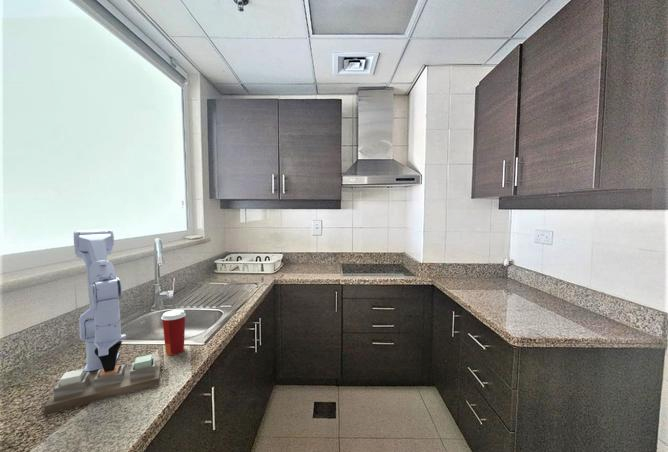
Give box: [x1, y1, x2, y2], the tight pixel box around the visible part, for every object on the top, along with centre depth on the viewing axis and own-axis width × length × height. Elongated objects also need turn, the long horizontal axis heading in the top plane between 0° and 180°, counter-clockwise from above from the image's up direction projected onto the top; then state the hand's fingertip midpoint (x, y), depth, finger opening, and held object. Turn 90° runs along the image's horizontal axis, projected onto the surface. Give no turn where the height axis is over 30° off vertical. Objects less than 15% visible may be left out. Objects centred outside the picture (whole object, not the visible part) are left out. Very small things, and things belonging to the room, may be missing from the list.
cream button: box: [59, 368, 85, 386], centre depth 78 cm, size 4×4×2 cm
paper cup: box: [160, 309, 187, 356], centre depth 102 cm, size 8×8×14 cm
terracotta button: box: [99, 364, 121, 378], centre depth 82 cm, size 4×4×2 cm
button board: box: [43, 357, 162, 415], centre depth 82 cm, size 12×24×4 cm, turn 119°
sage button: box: [134, 354, 153, 370], centre depth 86 cm, size 4×4×2 cm
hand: (109, 370), depth 82 cm, fingers closed, pressing on terracotta button
